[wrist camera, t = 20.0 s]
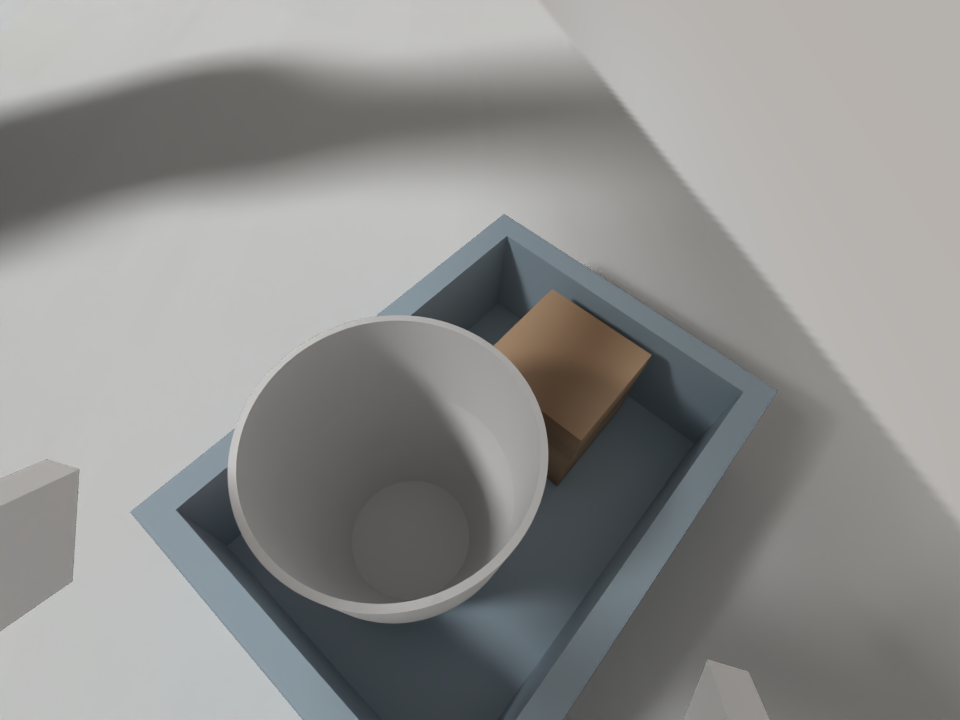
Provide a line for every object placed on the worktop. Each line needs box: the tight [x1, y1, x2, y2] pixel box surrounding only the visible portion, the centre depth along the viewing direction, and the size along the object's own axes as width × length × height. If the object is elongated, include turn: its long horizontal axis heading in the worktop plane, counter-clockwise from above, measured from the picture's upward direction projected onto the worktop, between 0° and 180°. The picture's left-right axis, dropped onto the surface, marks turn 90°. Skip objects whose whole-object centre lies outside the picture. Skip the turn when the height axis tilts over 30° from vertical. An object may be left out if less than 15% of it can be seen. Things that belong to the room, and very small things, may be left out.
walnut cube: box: [494, 289, 651, 486], centre depth 24 cm, size 5×5×5 cm
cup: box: [228, 315, 548, 623], centre depth 18 cm, size 8×8×10 cm
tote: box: [130, 214, 778, 720], centre depth 22 cm, size 14×19×6 cm
